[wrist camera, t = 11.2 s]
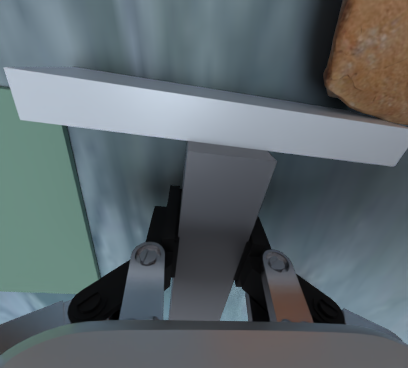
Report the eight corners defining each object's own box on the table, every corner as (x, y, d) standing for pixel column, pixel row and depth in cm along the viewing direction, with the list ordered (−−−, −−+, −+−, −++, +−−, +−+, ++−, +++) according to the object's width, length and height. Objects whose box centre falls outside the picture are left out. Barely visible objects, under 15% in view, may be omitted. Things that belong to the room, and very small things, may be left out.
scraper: (347, 110, 11) (449, 139, 7) (270, 268, 18) (295, 334, 13) (74, 66, 9) (-30, 66, 5) (104, 260, 16) (72, 331, 12)
